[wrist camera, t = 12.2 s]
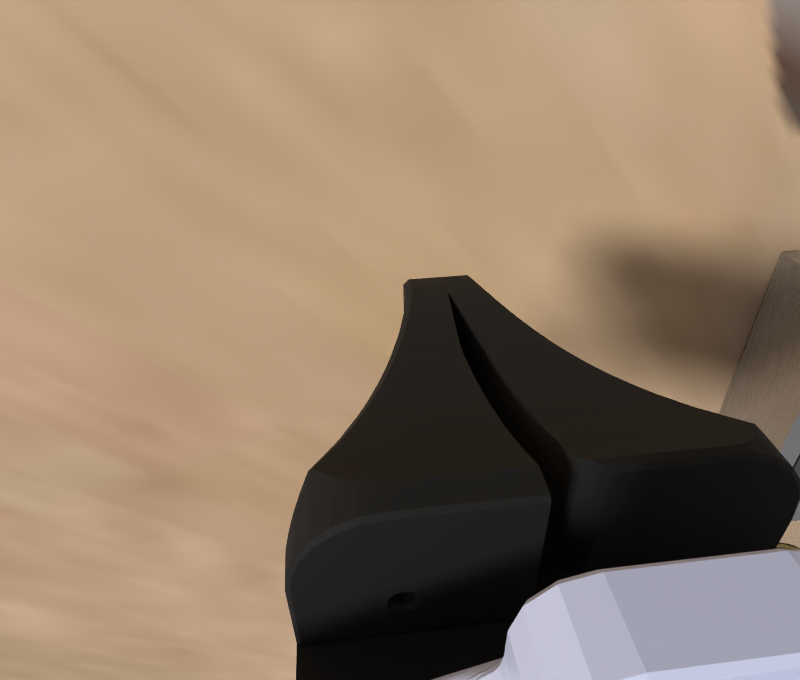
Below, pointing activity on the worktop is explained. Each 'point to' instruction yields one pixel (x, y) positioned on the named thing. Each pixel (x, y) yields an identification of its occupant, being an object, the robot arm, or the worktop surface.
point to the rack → (773, 366)
